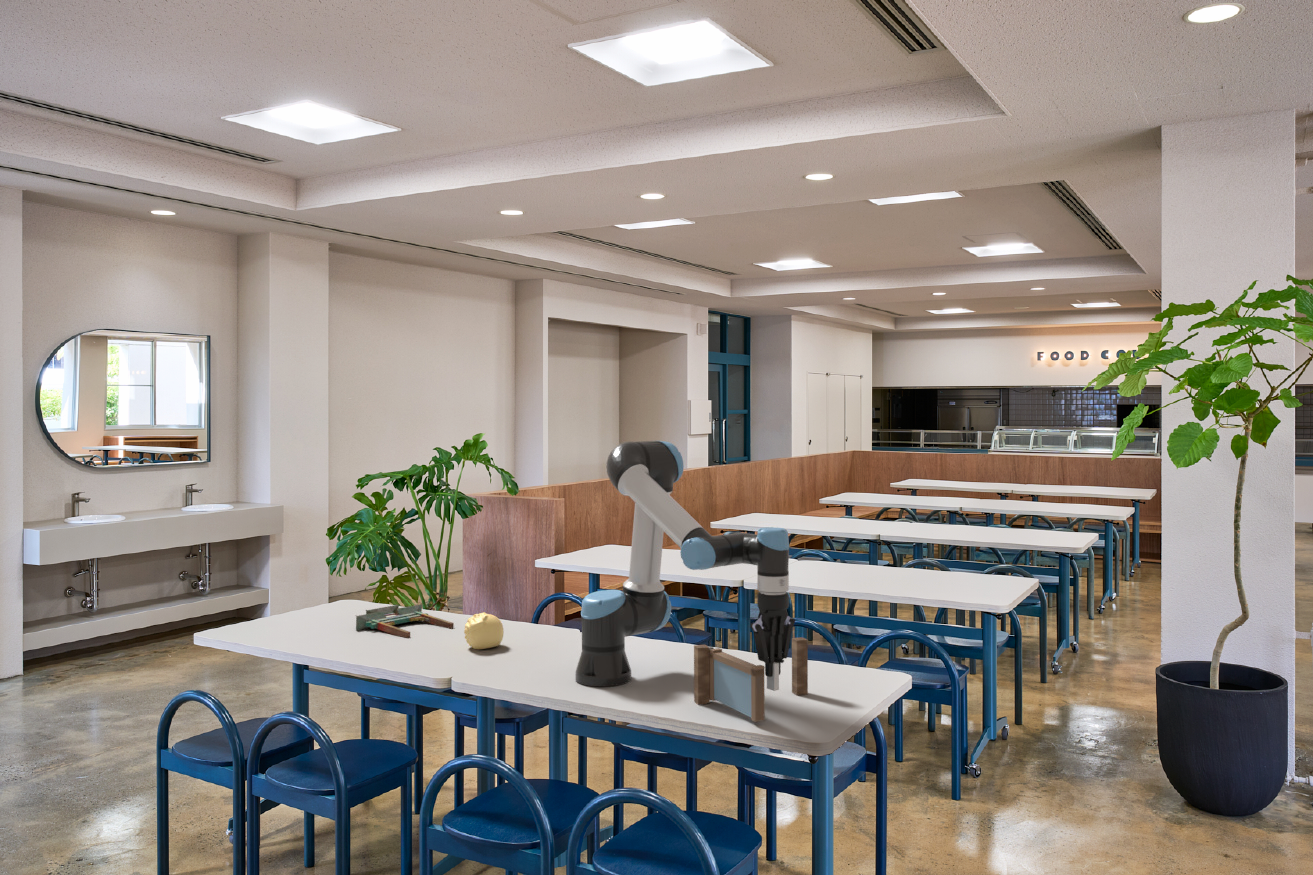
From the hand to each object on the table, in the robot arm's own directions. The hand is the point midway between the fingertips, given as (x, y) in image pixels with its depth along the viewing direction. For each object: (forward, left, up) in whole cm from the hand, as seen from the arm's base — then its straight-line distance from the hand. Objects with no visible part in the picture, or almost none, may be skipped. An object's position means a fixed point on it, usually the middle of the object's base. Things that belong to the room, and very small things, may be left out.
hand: (772, 688), depth 231 cm
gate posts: (-10, -1, -5) cm, 12 cm away
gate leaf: (+1, -10, -4) cm, 11 cm away
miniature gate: (-124, -83, -6) cm, 149 cm away
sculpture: (-85, -60, -5) cm, 104 cm away
